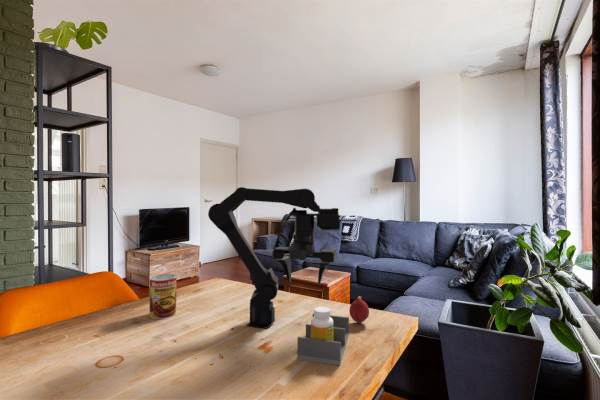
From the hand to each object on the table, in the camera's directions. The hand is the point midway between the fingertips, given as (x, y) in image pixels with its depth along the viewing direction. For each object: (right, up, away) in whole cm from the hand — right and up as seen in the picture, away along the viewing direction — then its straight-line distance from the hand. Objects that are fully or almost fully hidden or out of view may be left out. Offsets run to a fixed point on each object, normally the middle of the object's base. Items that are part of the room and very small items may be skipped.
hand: (304, 283), depth 94 cm
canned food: (-45, -12, +7) cm, 47 cm away
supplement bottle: (+4, -11, -18) cm, 22 cm away
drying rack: (+5, -12, -15) cm, 20 cm away
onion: (+16, -12, 0) cm, 20 cm away
